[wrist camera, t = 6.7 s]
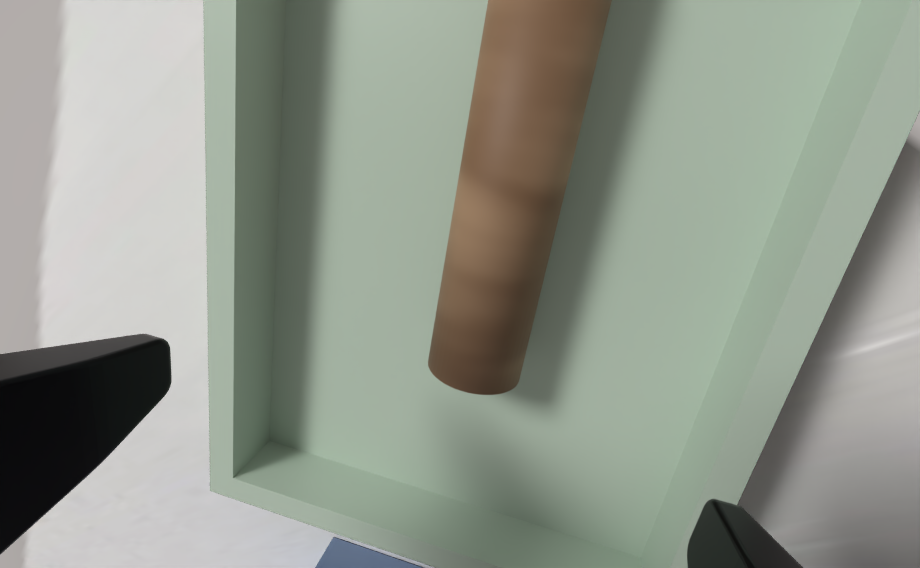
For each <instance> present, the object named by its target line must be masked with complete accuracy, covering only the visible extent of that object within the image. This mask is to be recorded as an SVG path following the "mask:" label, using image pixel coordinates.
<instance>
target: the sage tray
mask: <svg viewBox="0 0 920 568" xmlns="http://www.w3.org/2000/svg"><path fill="white" fill-rule="evenodd" d="M487 4H488V0H203V7H204V81H205V154H206V228H207V302H208V375H209V449H210V491H212V492H215V493H218V494H221V495H224V496H227V497H230V498H232V499H235V500H238V501H241V502H244V503H247V504H250V505H253V506H256V507H259V508H262V509H265V510H268V511H271V512H274V513H277V514H279V515H282V516H285V517H288V518H291V519H294V520H297V521H300V522H303V523H306V524H309V525H312V526H315V527H318V528H321V529H324V530H327V531H329V532H332V533H335V534H338V535H341V536H344V537H347V538H350V539H353V540H356V541H359V542H362V543H365V544H368V545H371V546H374V547H376V548H379V549H382V550H385V551H388V552H391V553H394V554H397V555H400V556H403V557H406V558H409V559H412V560H415V561H418V562H421V563H424V564H426V565H429V566H432V567H435V568H688V564H687V548H688V543H689V539H690V537H691V535H692V532H693V530H694V528H695V525H696V523H697V521H698V518H699V516H700V514H701V512H702V509H703V507H704V505H705V503H706V502H707V501H708V500H710V499H718V500H721V501H725V502H728V503H732V504H735V505H737V504H738V502H739V499H740V497H741V495H742V493H743V491H744V489H745V487H746V484H747V482H748V480H749V478H750V476H751V474H752V471H753V469H754V467H755V465H756V463H757V461H758V458H759V456H760V454H761V452H762V450H763V448H764V446H765V443H766V441H767V439H768V437H769V435H770V433H771V430H772V428H773V426H774V424H775V422H776V420H777V418H778V415H779V413H780V411H781V409H782V407H783V405H784V402H785V400H786V398H787V396H788V394H789V392H790V390H791V387H792V385H793V383H794V381H795V379H796V377H797V374H798V372H799V370H800V368H801V366H802V364H803V361H804V359H805V357H806V355H807V353H808V351H809V349H810V346H811V344H812V342H813V340H814V338H815V336H816V333H817V331H818V329H819V327H820V325H821V323H822V321H823V318H824V316H825V314H826V312H827V310H828V308H829V305H830V303H831V301H832V299H833V297H834V295H835V293H836V290H837V288H838V286H839V284H840V282H841V280H842V277H843V275H844V273H845V271H846V269H847V267H848V265H849V262H850V260H851V258H852V256H853V254H854V252H855V249H856V247H857V245H858V243H859V241H860V239H861V236H862V234H863V232H864V230H865V228H866V226H867V224H868V221H869V219H870V217H871V215H872V213H873V211H874V208H875V206H876V204H877V202H878V200H879V198H880V196H881V193H882V191H883V189H884V187H885V185H886V183H887V180H888V178H889V176H890V174H891V172H892V170H893V168H894V165H895V163H896V161H897V159H898V157H899V155H900V152H901V150H902V148H903V146H904V144H905V142H906V139H907V137H908V135H909V133H910V131H911V129H912V127H913V124H914V122H915V120H916V118H917V116H918V113H919V111H920V0H612V2H611V6H610V10H609V14H608V18H607V22H606V26H605V30H604V34H603V39H602V43H601V47H600V51H599V55H598V59H597V63H596V67H595V71H594V75H593V80H592V84H591V88H590V92H589V96H588V100H587V104H586V108H585V112H584V117H583V121H582V125H581V129H580V133H579V137H578V141H577V145H576V149H575V153H574V158H573V162H572V166H571V170H570V174H569V178H568V182H567V186H566V190H565V194H564V199H563V203H562V207H561V211H560V215H559V219H558V223H557V227H556V231H555V236H554V240H553V244H552V248H551V252H550V256H549V260H548V264H547V268H546V272H545V277H544V281H543V285H542V289H541V293H540V297H539V301H538V305H537V309H536V314H535V318H534V322H533V326H532V330H531V334H530V338H529V342H528V346H527V350H526V355H525V359H524V363H523V367H522V371H521V375H520V379H519V382H518V384H517V386H516V387H515V388H513V389H512V390H510V391H508V392H505V393H502V394H496V395H478V394H472V393H467V392H463V391H460V390H457V389H454V388H452V387H450V386H448V385H446V384H444V383H443V382H441V381H440V380H438V379H437V378H436V377H435V376H434V375H433V374H432V372H431V371H430V369H429V366H428V358H429V352H430V346H431V340H432V334H433V328H434V322H435V316H436V310H437V304H438V298H439V292H440V286H441V280H442V274H443V268H444V262H445V256H446V250H447V244H448V238H449V232H450V226H451V220H452V214H453V208H454V202H455V196H456V190H457V184H458V178H459V172H460V166H461V160H462V154H463V148H464V142H465V136H466V130H467V124H468V118H469V112H470V106H471V100H472V94H473V88H474V82H475V76H476V70H477V64H478V58H479V52H480V46H481V40H482V34H483V28H484V22H485V16H486V10H487Z"/></svg>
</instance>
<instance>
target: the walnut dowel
mask: <svg viewBox="0 0 920 568" xmlns="http://www.w3.org/2000/svg"><path fill="white" fill-rule="evenodd" d="M611 2H612V0H488V4H487V10H486V16H485V22H484V28H483V34H482V40H481V46H480V52H479V58H478V64H477V70H476V76H475V82H474V88H473V94H472V100H471V106H470V112H469V118H468V124H467V130H466V136H465V142H464V148H463V154H462V160H461V166H460V172H459V178H458V184H457V190H456V196H455V202H454V208H453V214H452V220H451V226H450V232H449V238H448V244H447V250H446V256H445V262H444V268H443V274H442V280H441V286H440V292H439V298H438V304H437V310H436V316H435V322H434V328H433V334H432V340H431V346H430V352H429V358H428V366H429V369H430V371H431V372H432V374H433V375H434V376H435V377H436V378H437V379H438V380H440V381H441V382H443V383H444V384H446V385H448V386H450V387H452V388H454V389H457V390H460V391H463V392H467V393H472V394H478V395H496V394H502V393H505V392H508V391H510V390H512V389H513V388H515V387H516V386H517V384H518V382H519V379H520V375H521V371H522V367H523V363H524V359H525V355H526V350H527V346H528V342H529V338H530V334H531V330H532V326H533V322H534V318H535V314H536V309H537V305H538V301H539V297H540V293H541V289H542V285H543V281H544V277H545V272H546V268H547V264H548V260H549V256H550V252H551V248H552V244H553V240H554V236H555V231H556V227H557V223H558V219H559V215H560V211H561V207H562V203H563V199H564V194H565V190H566V186H567V182H568V178H569V174H570V170H571V166H572V162H573V158H574V153H575V149H576V145H577V141H578V137H579V133H580V129H581V125H582V121H583V117H584V112H585V108H586V104H587V100H588V96H589V92H590V88H591V84H592V80H593V75H594V71H595V67H596V63H597V59H598V55H599V51H600V47H601V43H602V39H603V34H604V30H605V26H606V22H607V18H608V14H609V10H610V6H611Z"/></svg>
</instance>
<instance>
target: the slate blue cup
mask: <svg viewBox="0 0 920 568" xmlns="http://www.w3.org/2000/svg"><path fill="white" fill-rule="evenodd" d="M315 568H422V567H419V566H416V565H413V564H411V563H408V562H405V561H402V560H399V559H396V558H393V557H390V556H387V555H384V554H381V553H378V552H375V551H373V550H370V549H367V548H364V547H361V546H358V545H355V544H352V543H349V542H346V541H343V540H340V539H337V538H334V537H333V539H332V541H331V542H330V544H329V546H328V547H327V549H326V551H325V552H324V554H323V556H322V557H321V559H320V561H319V562H318V564H317V566H316V567H315Z"/></svg>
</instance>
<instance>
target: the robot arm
mask: <svg viewBox="0 0 920 568" xmlns="http://www.w3.org/2000/svg"><path fill="white" fill-rule="evenodd" d="M170 385H171V357H170V346H169V344H168V342H167V341H166V340H164V339H162V338H158V337H155V336H151V335H148V334H137V335H130V336H124V337H117V338H110V339H103V340H96V341H89V342H82V343H75V344H68V345H61V346H54V347H47V348H41V349H34V350H27V351H20V352H13V353H7V354H0V554H1V553H3V552H4V551H5V550H6V549H7V548H8V547H9V546H10V545H11V544H13V543H14V542H15V541H16V540H17V539H18V538H19V537H20V536H21V535H23V534H24V533H25V532H26V531H27V530H28V529H29V528H30V527H31V526H33V525H34V524H35V523H36V522H37V521H38V520H39V519H40V518H41V517H43V516H44V515H45V514H46V513H47V512H48V511H49V510H50V509H51V508H53V507H54V506H55V505H56V504H57V503H58V502H59V501H60V500H61V499H63V498H64V497H65V496H66V495H67V494H68V493H69V492H70V491H71V490H73V489H74V488H75V487H76V486H77V485H78V484H79V483H80V482H81V481H82V480H84V479H85V478H86V477H87V476H88V475H89V474H90V473H91V472H92V471H93V470H94V469H95V468H97V467H98V466H99V465H100V464H101V463H102V462H103V461H104V460H105V459H106V458H107V457H108V456H109V455H110V454H111V452H112V451H113V450H114V449H115V448H116V447H117V446H118V445H119V444H120V443H121V442H122V441H123V440H124V439H125V438H126V437H127V435H128V434H129V433H130V432H131V431H132V430H133V429H134V428H135V427H136V426H137V425H138V424H139V423H140V422H141V421H142V419H143V418H144V417H145V416H146V415H147V414H148V413H149V412H150V411H151V410H152V409H153V408H154V407H155V406H156V405H157V404H158V402H159V401H160V400H161V399H162V398H163V397H164V396H165V395H166V393H167V392H168V390H169V388H170ZM687 564H688V568H803V567H802V566H801V565H800V564H799V563H798V562H797V561H796V560H795V559H794V558H793V557H792V556H791V555H790V554H789V553H788V552H787V551H786V550H785V549H784V548H783V547H782V546H781V545H780V544H779V543H778V542H777V541H776V540H775V539H774V538H773V537H772V536H771V535H770V534H769V533H768V532H767V531H765V530H764V529H763V528H762V527H761V526H760V525H759V524H758V523H757V522H756V521H755V520H754V519H753V518H752V517H751V516H750V515H749V514H748V513H747V512H746V511H745V510H744V509H743V508H742V507H740V506H738V505H735V504H732V503H728V502H725V501H721V500H718V499H710V500H708V501H707V502H706V503H705V505H704V507H703V509H702V512H701V514H700V516H699V518H698V521H697V523H696V525H695V528H694V530H693V532H692V535H691V537H690V539H689V543H688V548H687Z"/></svg>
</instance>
